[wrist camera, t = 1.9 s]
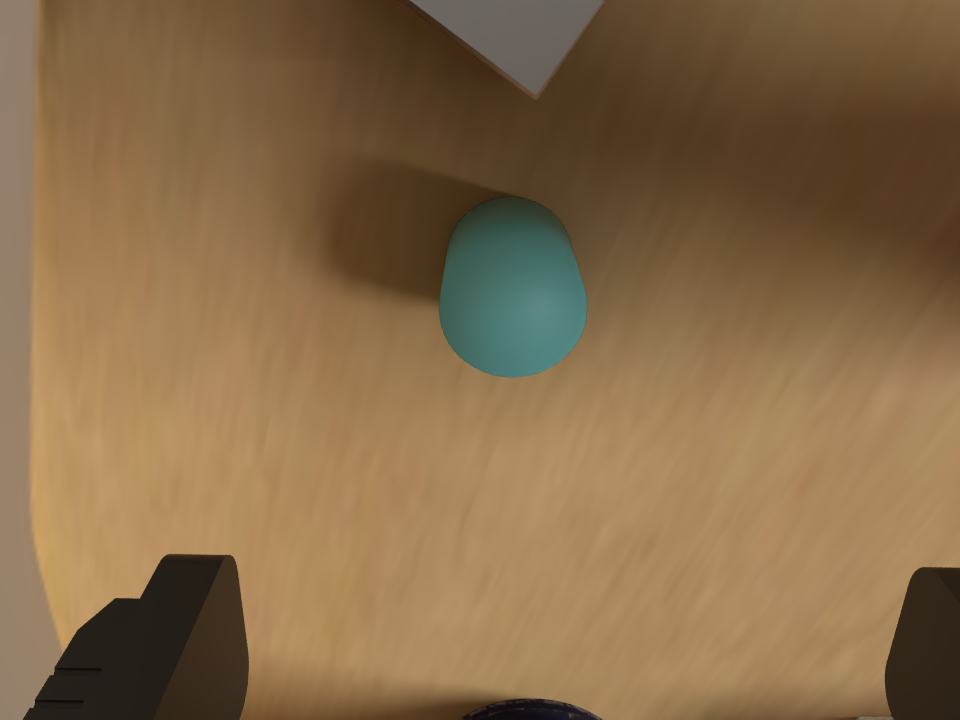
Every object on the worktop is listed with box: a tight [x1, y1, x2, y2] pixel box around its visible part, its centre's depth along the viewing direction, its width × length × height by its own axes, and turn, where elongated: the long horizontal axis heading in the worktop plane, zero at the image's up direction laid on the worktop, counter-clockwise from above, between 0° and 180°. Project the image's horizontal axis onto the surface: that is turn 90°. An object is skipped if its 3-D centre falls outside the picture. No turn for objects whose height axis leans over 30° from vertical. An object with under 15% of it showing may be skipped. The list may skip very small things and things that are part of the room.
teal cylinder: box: [439, 197, 587, 377], centre depth 28 cm, size 4×4×5 cm
